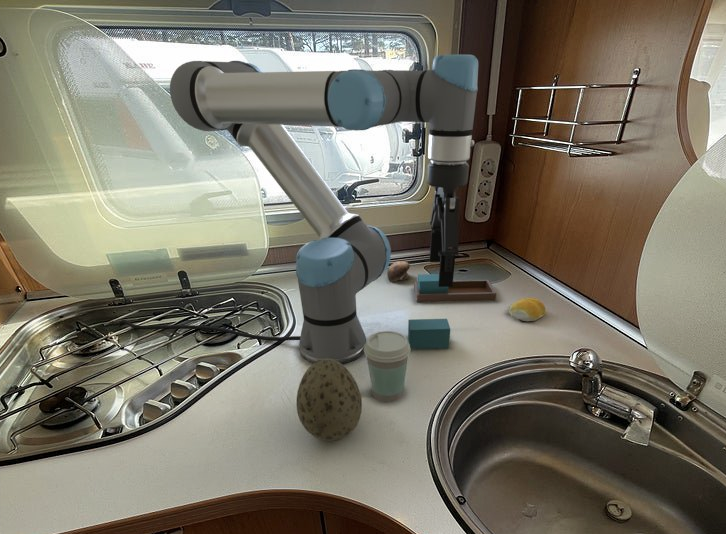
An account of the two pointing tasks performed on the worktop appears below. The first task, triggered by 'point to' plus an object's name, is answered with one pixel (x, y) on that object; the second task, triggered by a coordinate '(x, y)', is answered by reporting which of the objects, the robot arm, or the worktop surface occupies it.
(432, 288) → the turquoise block
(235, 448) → the worktop surface
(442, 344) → the teal rectangular block
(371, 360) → the coffee cup
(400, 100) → the robot arm
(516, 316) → the bread roll
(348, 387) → the decorative egg
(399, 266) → the mushroom
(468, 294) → the brown shallow rectangular tray
